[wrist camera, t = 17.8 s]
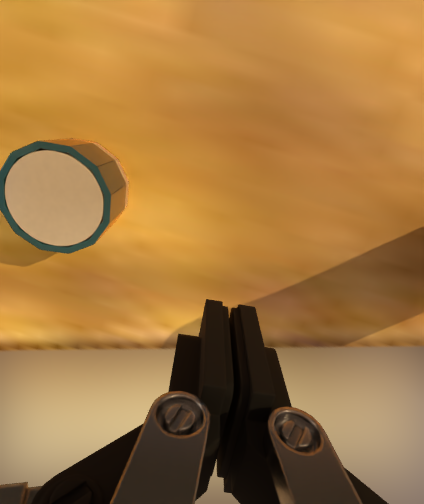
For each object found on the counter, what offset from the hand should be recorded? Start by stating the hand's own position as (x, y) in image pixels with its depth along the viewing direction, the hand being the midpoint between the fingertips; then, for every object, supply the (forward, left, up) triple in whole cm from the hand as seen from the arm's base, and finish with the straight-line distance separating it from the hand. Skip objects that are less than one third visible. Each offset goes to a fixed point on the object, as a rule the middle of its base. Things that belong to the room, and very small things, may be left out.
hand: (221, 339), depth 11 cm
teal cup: (+12, 0, -14) cm, 18 cm away
